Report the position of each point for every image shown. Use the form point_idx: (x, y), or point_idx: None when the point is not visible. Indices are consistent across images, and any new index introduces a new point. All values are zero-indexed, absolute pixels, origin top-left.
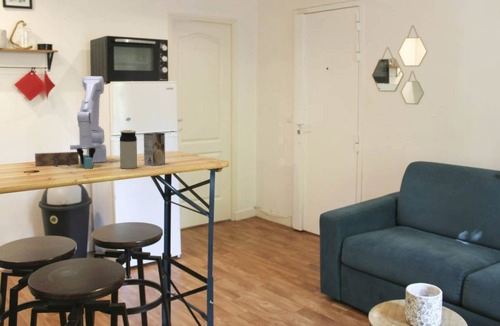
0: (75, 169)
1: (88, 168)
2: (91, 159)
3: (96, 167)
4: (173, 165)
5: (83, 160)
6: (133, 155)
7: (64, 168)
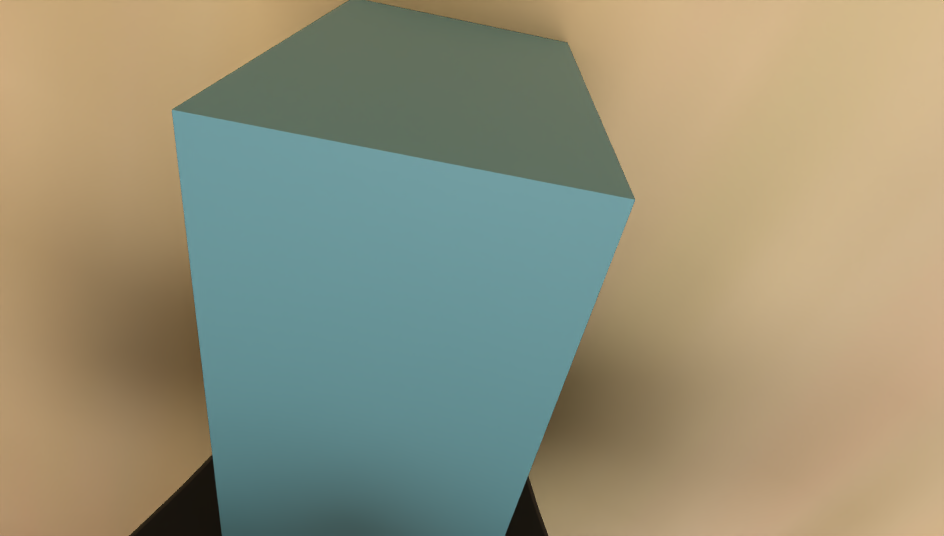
0: (868, 149)
1: (492, 30)
2: (266, 107)
3: None
4: None
5: None
6: None
7: (928, 411)
